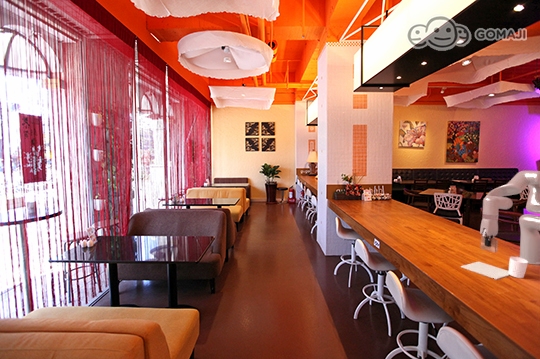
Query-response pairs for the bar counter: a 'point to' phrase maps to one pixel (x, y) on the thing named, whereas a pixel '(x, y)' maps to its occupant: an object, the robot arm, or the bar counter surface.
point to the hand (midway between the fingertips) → (488, 245)
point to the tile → (492, 248)
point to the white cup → (517, 267)
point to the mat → (487, 270)
